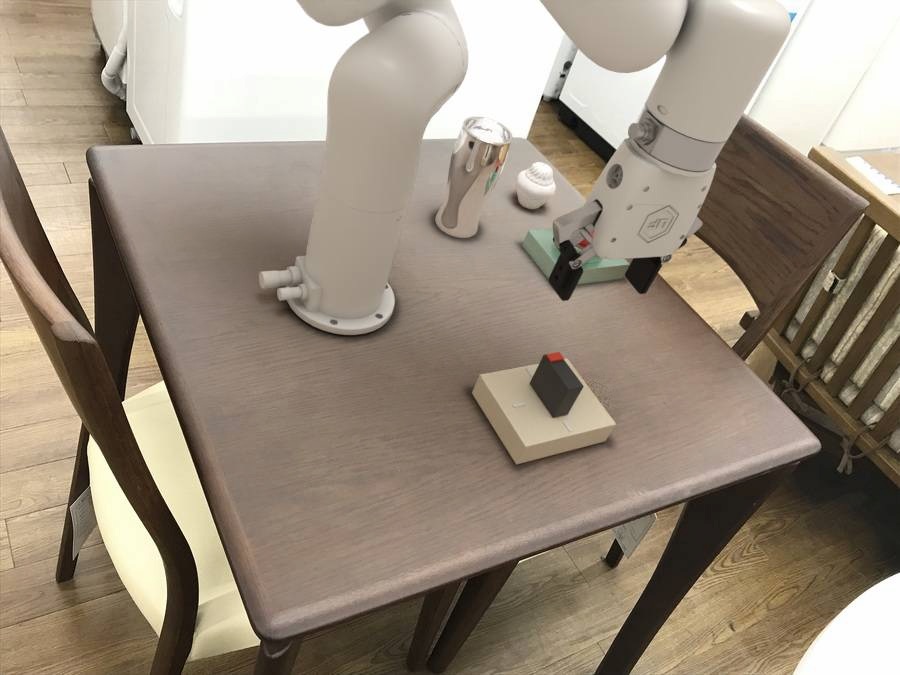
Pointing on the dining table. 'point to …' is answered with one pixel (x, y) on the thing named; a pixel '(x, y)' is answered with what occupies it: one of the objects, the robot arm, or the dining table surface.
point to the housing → (594, 269)
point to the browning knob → (556, 384)
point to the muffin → (535, 185)
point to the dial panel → (538, 416)
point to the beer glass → (472, 174)
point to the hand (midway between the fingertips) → (597, 288)
